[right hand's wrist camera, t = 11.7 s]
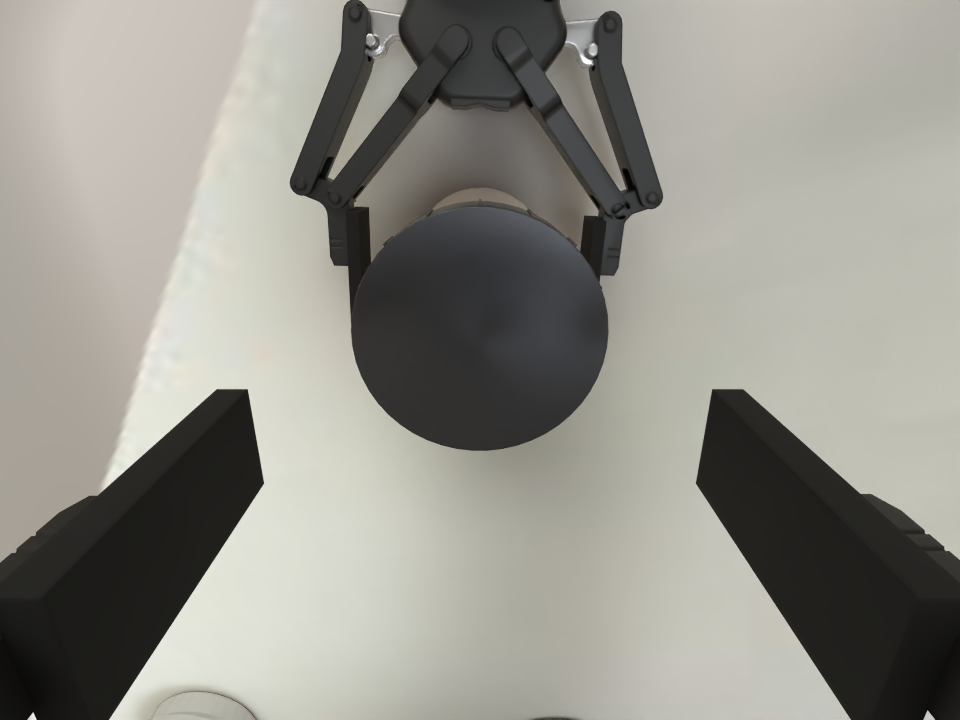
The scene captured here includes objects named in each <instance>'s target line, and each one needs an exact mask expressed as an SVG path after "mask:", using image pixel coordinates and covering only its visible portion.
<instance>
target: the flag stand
mask: <svg viewBox="0 0 960 720" xmlns="http://www.w3.org/2000/svg"><path fill="white" fill-rule="evenodd" d="M150 720H255V718H254V717H253V715H252V714H251V713H250V712H249V711H248V710H247V709H246V708H244V707H243V706H242V705H240V704H239V703H237V702H235V701H233V700H231V699H229V698H226V697H224V696H221V695H217V694H212V693H207V692H187V693H182V694H178V695H175V696H172V697H170V698H168V699H167V700H165V701H164V702H162V703H161V704H160V705H159V706H158V708H157V709H156V711H155V712H154V714H153V716H152V717H151V719H150Z"/></svg>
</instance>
